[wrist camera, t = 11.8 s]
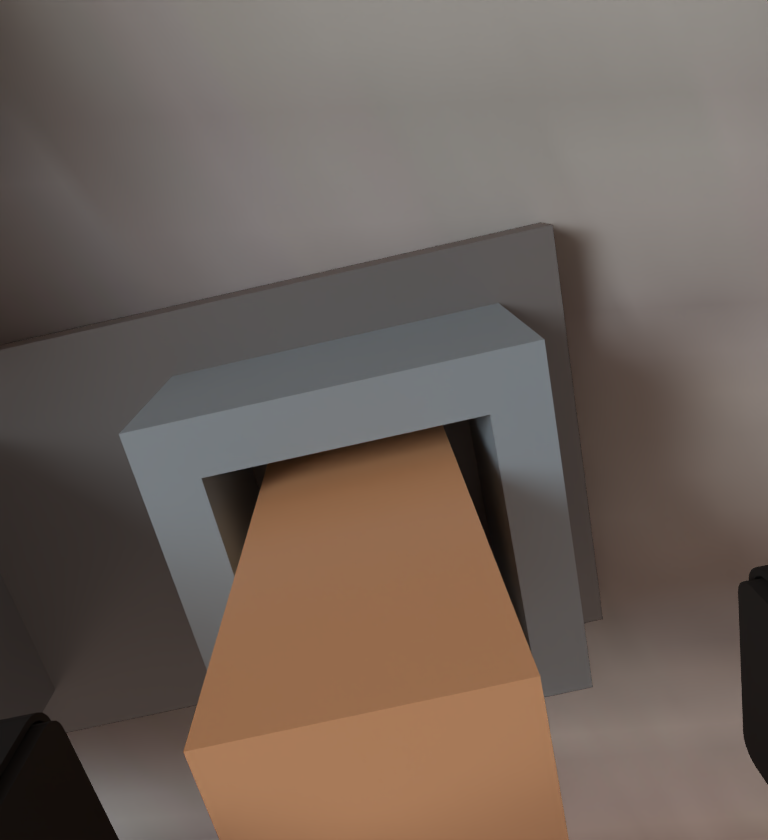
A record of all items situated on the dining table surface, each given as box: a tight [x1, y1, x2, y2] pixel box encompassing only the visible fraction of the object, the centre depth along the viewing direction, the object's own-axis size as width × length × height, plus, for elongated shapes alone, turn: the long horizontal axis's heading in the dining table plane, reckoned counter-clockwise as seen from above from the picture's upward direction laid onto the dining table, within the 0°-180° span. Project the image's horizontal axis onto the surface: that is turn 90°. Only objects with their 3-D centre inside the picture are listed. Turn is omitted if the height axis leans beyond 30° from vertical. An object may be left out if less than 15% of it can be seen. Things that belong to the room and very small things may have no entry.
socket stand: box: [0, 223, 603, 733], centre depth 12 cm, size 25×11×13 cm, turn 102°
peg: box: [183, 425, 569, 840], centre depth 13 cm, size 4×4×10 cm
